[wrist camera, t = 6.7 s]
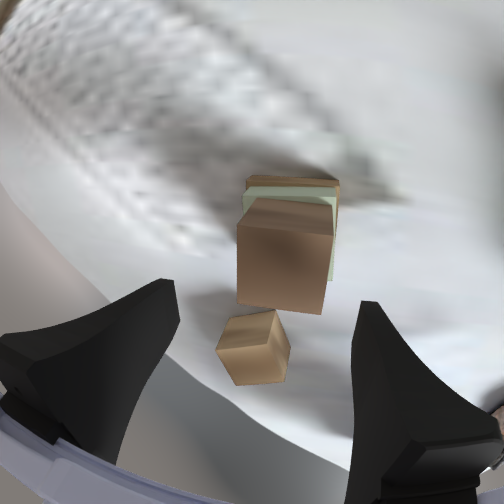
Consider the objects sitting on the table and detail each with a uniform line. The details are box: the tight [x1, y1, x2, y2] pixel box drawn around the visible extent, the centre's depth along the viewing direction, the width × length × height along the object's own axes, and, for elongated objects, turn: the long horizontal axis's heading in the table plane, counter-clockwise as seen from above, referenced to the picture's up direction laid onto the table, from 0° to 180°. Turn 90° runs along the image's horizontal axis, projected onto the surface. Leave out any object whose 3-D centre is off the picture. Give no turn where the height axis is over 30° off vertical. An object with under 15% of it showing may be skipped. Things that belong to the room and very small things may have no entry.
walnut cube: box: [237, 198, 334, 315], centre depth 15 cm, size 4×4×4 cm
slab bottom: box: [246, 175, 340, 237], centre depth 20 cm, size 6×6×2 cm
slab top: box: [242, 186, 336, 281], centre depth 18 cm, size 5×5×2 cm
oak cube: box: [215, 310, 291, 386], centre depth 24 cm, size 4×4×4 cm
